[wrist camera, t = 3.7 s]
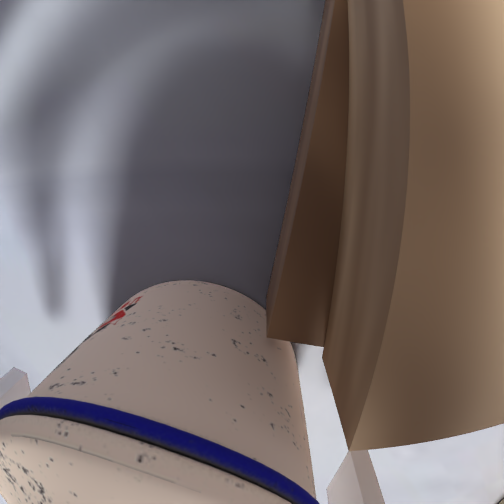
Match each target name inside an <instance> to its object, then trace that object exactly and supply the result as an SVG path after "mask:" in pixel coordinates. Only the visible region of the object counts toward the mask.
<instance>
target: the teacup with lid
mask: <svg viewBox="0 0 504 504" xmlns="http://www.w3.org/2000/svg"><path fill="white" fill-rule="evenodd" d="M0 494H1V495H2V497H3V498H4V499H5V500H6V502H7V503H8V504H319V502H318V501H317V500H316V493H315V485H314V478H313V470H312V463H311V456H310V449H309V442H308V435H307V428H306V421H305V414H304V407H303V401H302V394H301V388H300V381H299V375H298V368H297V362H296V358H295V354H294V351H293V348H292V345H291V343H290V342H289V341H283V340H277V339H272V338H267V335H266V310H265V309H264V308H263V307H261V306H260V305H259V304H257V303H256V302H255V301H253V300H252V299H250V298H248V297H246V296H245V295H243V294H241V293H239V292H237V291H235V290H232V289H230V288H227V287H224V286H221V285H217V284H213V283H209V282H203V281H193V280H179V281H170V282H165V283H161V284H157V285H154V286H151V287H149V288H147V289H144V290H142V291H140V292H139V293H137V294H135V295H134V296H132V297H131V298H130V299H129V300H127V301H126V302H125V303H124V304H123V305H122V306H121V307H119V308H118V309H117V310H116V311H115V312H114V313H113V314H112V315H111V316H110V317H109V318H108V319H107V320H105V321H104V322H103V323H102V324H101V325H100V326H99V327H98V328H97V329H96V330H95V331H94V332H93V333H92V334H91V335H89V336H88V337H87V338H86V339H85V340H84V341H83V342H82V343H81V344H80V345H79V346H78V347H77V348H76V349H75V350H74V351H73V352H72V353H71V354H70V355H69V356H68V357H66V358H65V359H64V360H63V361H62V362H61V363H60V364H59V365H58V366H57V367H56V368H55V369H54V370H53V371H52V372H51V373H50V374H49V375H48V376H47V377H46V378H45V379H44V380H43V381H42V382H41V383H40V384H39V385H38V386H37V387H36V388H35V389H34V390H33V391H32V392H31V393H30V394H29V395H28V396H27V397H26V398H22V399H19V400H15V401H12V402H10V403H8V404H6V405H4V406H3V407H2V408H1V409H0Z"/></svg>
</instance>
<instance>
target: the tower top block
mask: <svg viewBox="0 0 504 504" xmlns="http://www.w3.org/2000/svg"><path fill="white" fill-rule="evenodd" d="M348 23H349V113H348V138H347V157H346V172H345V186H344V198H343V209H342V220H341V230H340V239H339V248H338V256H337V264H336V272H335V280H334V287H333V294H332V301H331V308H330V314H329V321H328V327H327V333H326V339H325V344H324V350H323V356H322V359H323V362H324V366H325V369H326V372H327V376H328V379H329V382H330V386H331V389H332V393H333V396H334V400H335V403H336V407H337V410H338V414H339V417H340V421H341V424H342V428H343V432H344V435H345V439H346V443H347V446H348V450H349V451H357V450H369V449H379V448H388V447H396V446H403V445H410V444H417V443H423V442H428V441H434V440H439V439H444V438H449V437H453V436H458V435H462V434H466V433H470V432H474V431H478V430H482V429H486V428H489V427H493V426H496V425H499V424H503V423H504V0H348Z"/></svg>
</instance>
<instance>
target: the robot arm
mask: <svg viewBox="0 0 504 504" xmlns="http://www.w3.org/2000/svg"><path fill="white" fill-rule="evenodd" d="M30 393H31V391H30V386H29V382H28V377H27V373H25V372H23V371H21V370H19V369H17V368H15V367H14V368H12V369H11V370H10V371H9V372H8V373H6V374H5V375H4V376H3V377H2V378H1V379H0V409H1V408H2V407H3V406H4V405H6V404H8V403H10V402H12V401H15V400H19V399H22V398H26V397H27V396H28V395H29V394H30ZM326 490H327V496H328V502H329V504H385V502H384V499H383V496H382V493H381V490H380V486H379V483H378V480H377V477H376V474H375V471H374V468H373V465H372V462H371V459H370V456H369V453H368V450H357V451H348V453H347V455H346V457H345V459H344V460H343V462H342V464H341V466H340V467H339V469H338V471H337V472H336V474H335V476H334V477H333V479H332V481H331V482H330V484H329V486H328V487H327V489H326Z"/></svg>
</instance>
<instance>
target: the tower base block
mask: <svg viewBox="0 0 504 504" xmlns="http://www.w3.org/2000/svg"><path fill="white" fill-rule="evenodd" d="M348 113H349V23H348V0H325V6H324V12H323V18H322V23H321V29H320V35H319V40H318V46H317V52H316V57H315V63H314V68H313V73H312V79H311V84H310V90H309V95H308V100H307V105H306V110H305V116H304V121H303V126H302V131H301V136H300V141H299V146H298V151H297V156H296V161H295V166H294V171H293V176H292V181H291V185H290V190H289V195H288V200H287V205H286V209H285V214H284V219H283V223H282V228H281V233H280V237H279V242H278V246H277V251H276V256H275V260H274V265H273V269H272V274H271V278H270V283H269V287H268V292H267V296H266V335H267V338H272V339H277V340H283V341H289V342H295V343H301V344H307V345H314V346H320V347H324V344H325V339H326V333H327V327H328V321H329V314H330V308H331V301H332V294H333V287H334V280H335V272H336V264H337V256H338V248H339V239H340V230H341V220H342V209H343V198H344V186H345V172H346V157H347V138H348Z"/></svg>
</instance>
